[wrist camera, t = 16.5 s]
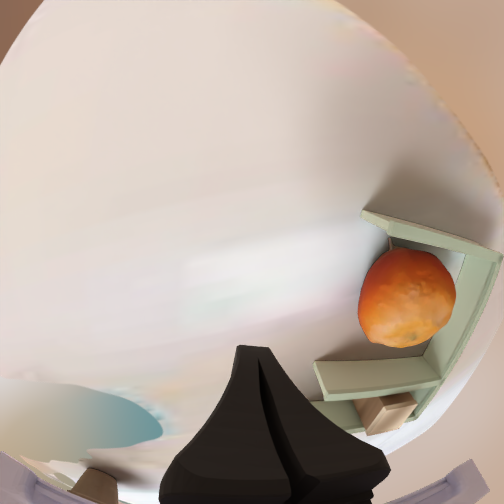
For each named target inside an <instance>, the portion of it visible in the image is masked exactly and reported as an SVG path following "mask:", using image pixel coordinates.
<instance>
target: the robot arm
mask: <svg viewBox="0 0 504 504" xmlns="http://www.w3.org/2000/svg"><path fill="white" fill-rule="evenodd" d="M390 471H391V469H390V466H389V464H388V462H387V460H386V457H385V455H384V453H383V452H382V450H380V449H378V448H376V447H374V446H372V445H370V444H368V443H365V442H363V441H361V440H359V439H358V438H356V437H354V436H353V435H351V434H349V433H348V432H346V431H344V430H343V429H341V428H340V427H339V426H337V425H336V424H335V423H333V422H332V421H331V420H329V419H328V418H327V417H325V416H324V415H323V414H322V413H321V412H320V411H319V410H317V409H316V408H315V407H314V406H313V405H312V404H311V403H310V402H309V401H308V400H307V399H306V398H305V396H304V395H303V394H302V393H301V392H300V391H299V390H298V388H297V387H296V386H295V385H294V383H293V382H292V381H291V379H290V378H289V377H288V375H287V374H286V373H285V371H284V370H283V368H282V367H281V365H280V364H279V362H278V361H277V359H276V358H275V356H274V355H273V353H272V351H271V350H270V349H269V347H257V346H247V345H239V346H237V348H236V353H235V358H234V363H233V368H232V374H231V378H230V380H229V382H228V385H227V387H226V389H225V391H224V393H223V395H222V397H221V399H220V401H219V403H218V404H217V406H216V408H215V409H214V411H213V412H212V414H211V415H210V417H209V418H208V420H207V421H206V423H205V424H204V425H203V427H202V428H201V429H200V430H199V432H198V433H197V434H196V435H195V436H194V438H193V439H192V440H191V441H190V442H189V443H188V444H187V445H186V446H185V447H184V448H183V449H182V450H181V451H180V452H179V453H178V454H177V455H176V456H175V458H174V460H173V461H172V463H171V464H170V466H169V468H168V469H167V471H166V473H165V475H164V476H163V479H162V481H161V484H160V489H159V502H160V504H372V503H371V500H370V499H372V498H373V496H374V495H373V492H372V489H373V488H374V487H375V486H377V485H378V484H379V483H380V482H382V481H383V480H384V479H385V478H386V477H387V476H388V475H389V473H390ZM489 490H490V489H489V488H488V486H487V484H486V483H485V481H484V479H483V477H482V475H481V474H480V472H479V471H478V469H477V467H476V465H475V463H474V462H473V460H472V459H469V460H468V461H466V462H464V463H463V464H461V465H459V466H458V467H456V468H455V469H453V470H452V471H451V472H450V473H448V474H447V475H446V477H444V478H442V479H440V480H438V481H436V482H434V483H432V484H430V485H428V486H426V487H424V488H422V489H420V490H417V491H415V492H413V493H411V494H408V495H405V496H403V497H401V498H398V499H395V500H393V501H390V502H387V503H384V504H475V503H476V502H477V501H478V500H479V499H481V498H482V497H483V496H485V495H486V494H487V493H488V492H489ZM0 504H98V503H95V502H92V501H89V500H87V499H84V498H82V497H79V496H77V495H74V494H72V493H70V492H67V491H65V490H63V489H61V488H58V487H56V486H54V485H52V484H50V483H48V482H46V481H44V480H42V479H41V478H39V477H37V475H36V474H35V473H34V472H33V471H32V470H31V469H29V468H28V467H27V466H25V465H24V464H22V463H21V462H19V461H17V460H16V459H14V458H12V457H11V456H9V455H8V454H6V453H5V452H3V451H1V452H0Z"/></svg>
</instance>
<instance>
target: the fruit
mask: <svg viewBox="0 0 504 504" xmlns="http://www.w3.org/2000/svg"><path fill="white" fill-rule="evenodd" d="M388 240H389V247H390V249H389V251H387V252H385V253H383V254H382V255H381V256H380V257H379V258H378V259H377V261H376V262H375V263H374V264H373V265H372V267H371V268H370V269H369V271H368V273H367V275H366V278H365V280H364V283H363V286H362V288H361V293H360V298H359V304H358V318H359V322H360V325H361V327H362V329H363V331H364V332H365V334H366V336H367V338H368V339H369V340H370V341H371V342H372V343H380V344H384V345H386V346H390V347H398V348H404V347H408V346H413V345H417V344H420V343H422V342H424V341H426V340H428V339H429V338H431V337H432V336H433V335H435V334H436V333H437V332H438V331H439V330H440V329H441V328H442V327H444V326H445V325H446V324H447V323H448V321H449V319H450V318H451V315H452V311H453V308H454V305H455V301H456V289H455V285H454V282H453V279H452V277H451V275H450V273H449V272H448V271H447V269H446V268H445V266H444V265H443V264H442V262H441V261H440V260H439V259H438V258H437V257H436V256H435V255H433V254H431V253H429V252H425V251H420V250H413V249H409V248H405V247H398V246H395V245H393V243H392V240H391V237H390V238H388Z"/></svg>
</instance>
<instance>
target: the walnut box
mask: <svg viewBox="0 0 504 504" xmlns="http://www.w3.org/2000/svg"><path fill="white" fill-rule="evenodd" d="M352 401H353V403H354V406H355V408H356V410H357V412H358V415H359V417H360V419H361V421H362V423H363V426H364V428H365V430H366V431H365V432H366V434H367V436H370V435H375V434H379V433H384V432H388V431H392V430H396V429H399V428H400V427H401V425H402V424H403V423H404V422H405V420H406V419H407V418H408V417H409V415H410V414H411V413H412V411H413V410H414V409H415V407H416V406H417V405H418V403H417V401H416V400H414V398H413V397H412V395H411V394H410V392H404V393H398V394H392V395H385V396H378V397H370V398H361V399H352Z"/></svg>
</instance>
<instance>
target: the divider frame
mask: <svg viewBox="0 0 504 504" xmlns="http://www.w3.org/2000/svg"><path fill="white" fill-rule="evenodd" d="M360 218H362V219H364V220H366V221H368V222H370V223H372V224H374V225H376V226H378V227H380V228H382V229H383V230H385V231H387V234H388V235H390V236H393V237H397V238H402V239H406V240H410V241H415V242H419V243H423V244H427V245H432V246H436V247H440V248H444V249H448V250H452V251H456V252H460V253H463V254H466V256H465V259H464V262H463V265H462V268H461V271H460V274H459V277H458V280H457V282H456V285H455V289H456V301H455V305H454V308H453V311H452V315H451V318H450V319H449V321H448V323H447V324H446V325H445V326H444V327H442V328H441V329H440V330H439V331H438V332H437V333H436V334H435V335H433V337H432V339H431V341H430V343H429V345H428V347H427V349H426V350H425V352H424V354H423V356H419V357H409V358H397V359H382V360H361V361H314V363H313V368H314V371H315V373H316V376H317V379H318V381H319V384H320V387H321V390H322V392H323V395H324V397H323V398H324V401H309V402H310V403H311V404H312V405H313V406H314V407H315V408H316V409H317V410H319V411H320V412H321V413H322V414H323V415H324V416H325V417H327V418H328V419H329V420H331V421H332V422H333V423H335V424H336V425H337V426H339V427H340V428H341V429H343V430H344V431H346V432H348V433H349V434H352V433H358V432H364V431H366V430H365V428H364V426H363V423H362V421H361V419H360V417H359V415H358V412H357V410H356V408H355V406H354V403H353V401H352V399H361V398H370V397H378V396H385V395H392V394H398V393H404V392H410V394H411V395H412V397H413V398H414V400H416V401H417V403H418V405H417V406H416V407H415V409H414V410H413V411H412V413H411V414H410V415H409V417H408V418H407V419H406V420H405V422H404V423H406V422H410V421H414V420H416V419H417V418H418V417H419V416H420V415H421V413H422V412H423V411H424V409H425V408H426V407H427V405H428V404H429V403H430V401H431V400H432V399H433V397H434V396H435V394H436V393H437V392H438V390H439V389H440V387H441V386H442V384H443V383H444V381H445V380H446V378H447V377H448V375H449V374H450V372H451V370H452V369H453V367H454V366H455V364H456V362H457V361H458V359H459V357H460V355H461V354H462V352H463V350H464V348H465V346H466V345H467V343H468V341H469V339H470V337H471V335H472V333H473V331H474V329H475V327H476V325H477V323H478V321H479V319H480V317H481V315H482V312H483V310H484V308H485V306H486V303H487V301H488V298H489V296H490V293H491V291H492V288H493V286H494V283H495V280H496V278H497V275H498V272H499V269H500V266H501V263H502V260H503V257H504V256H503V254H502V253H500V252H497V251H494V250H491V249H488V248H486V247H484V246H482V245H480V244H478V243H476V242H474V241H471V240H468V239H465V238H462V237H459V236H456V235H453V234H450V233H446V232H443V231H440V230H436V229H433V228H430V227H426V226H423V225H419V224H416V223H412V222H408V221H405V220H401V219H397V218H393V217H390V216H386V215H382V214H378V213H374V212H370V211H366V210H362V212H361V216H360Z"/></svg>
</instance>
